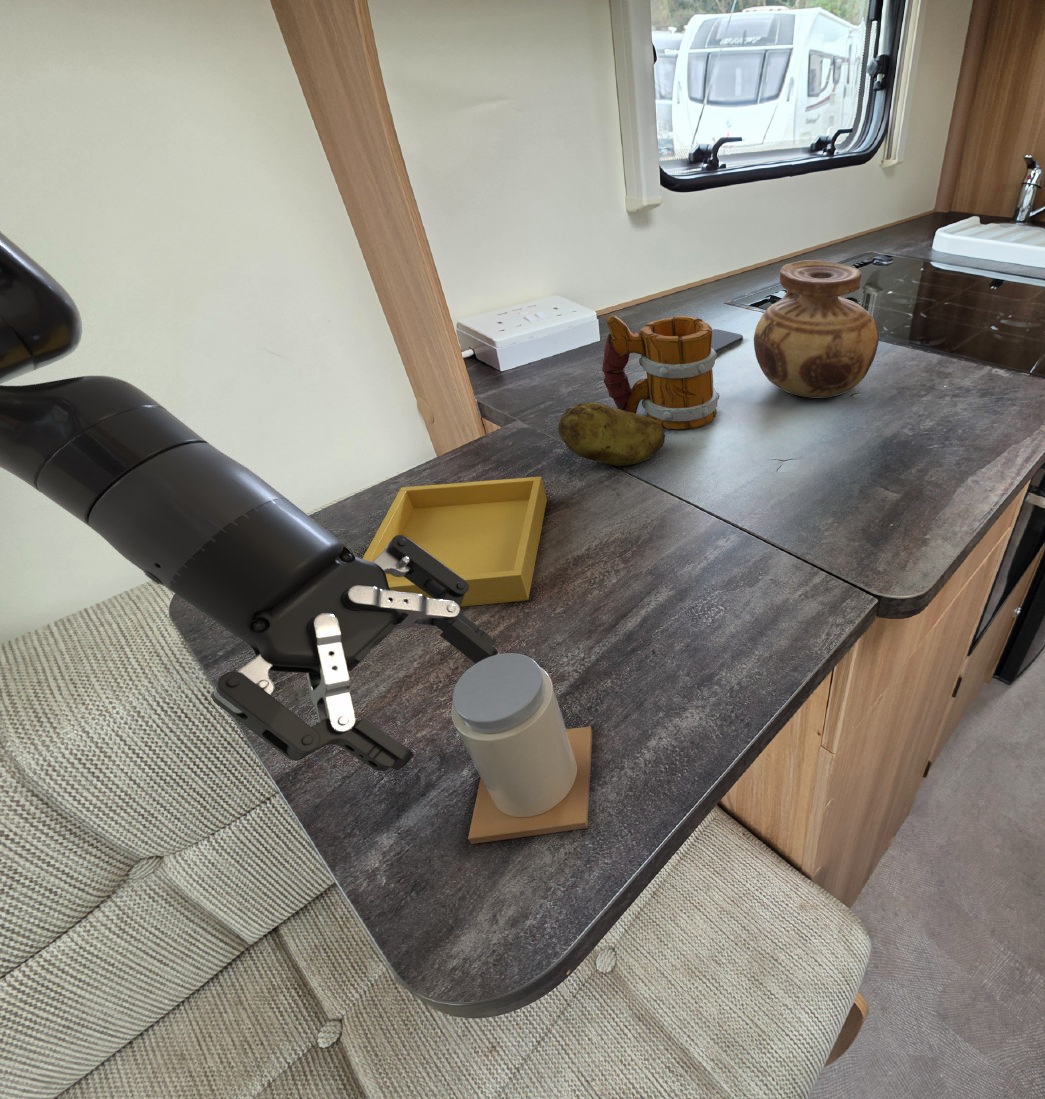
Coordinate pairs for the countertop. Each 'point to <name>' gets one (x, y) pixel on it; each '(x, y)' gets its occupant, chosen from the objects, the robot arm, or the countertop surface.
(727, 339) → the phone
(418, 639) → the countertop surface
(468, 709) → the jar with grey lid
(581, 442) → the potato
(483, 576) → the tray
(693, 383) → the mug
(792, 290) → the clay pot
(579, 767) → the trivet
